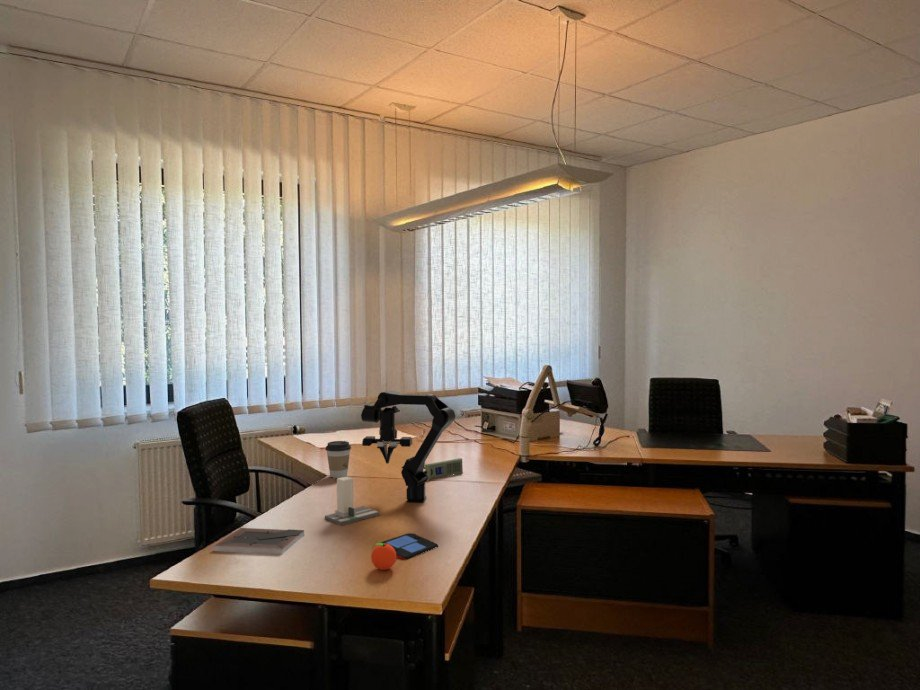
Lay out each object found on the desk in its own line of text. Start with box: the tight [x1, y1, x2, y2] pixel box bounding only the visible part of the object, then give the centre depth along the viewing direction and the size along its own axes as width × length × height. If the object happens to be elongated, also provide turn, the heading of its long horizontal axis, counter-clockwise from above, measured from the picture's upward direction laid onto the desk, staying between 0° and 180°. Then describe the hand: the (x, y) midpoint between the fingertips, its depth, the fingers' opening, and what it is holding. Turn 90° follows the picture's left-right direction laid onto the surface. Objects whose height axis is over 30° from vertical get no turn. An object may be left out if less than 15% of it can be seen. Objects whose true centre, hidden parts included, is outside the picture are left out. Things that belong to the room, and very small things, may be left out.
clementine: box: [370, 542, 397, 571], centre depth 172 cm, size 8×7×7 cm
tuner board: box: [324, 505, 380, 526], centre depth 218 cm, size 16×10×1 cm, turn 133°
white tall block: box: [335, 476, 356, 518], centre depth 215 cm, size 5×7×13 cm
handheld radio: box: [423, 457, 464, 480], centre depth 273 cm, size 7×3×25 cm
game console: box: [380, 532, 439, 560], centre depth 187 cm, size 14×13×2 cm
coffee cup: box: [324, 440, 352, 479], centre depth 275 cm, size 11×11×15 cm
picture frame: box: [213, 527, 305, 555], centre depth 193 cm, size 16×2×22 cm
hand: (387, 463), depth 242 cm, fingers closed
